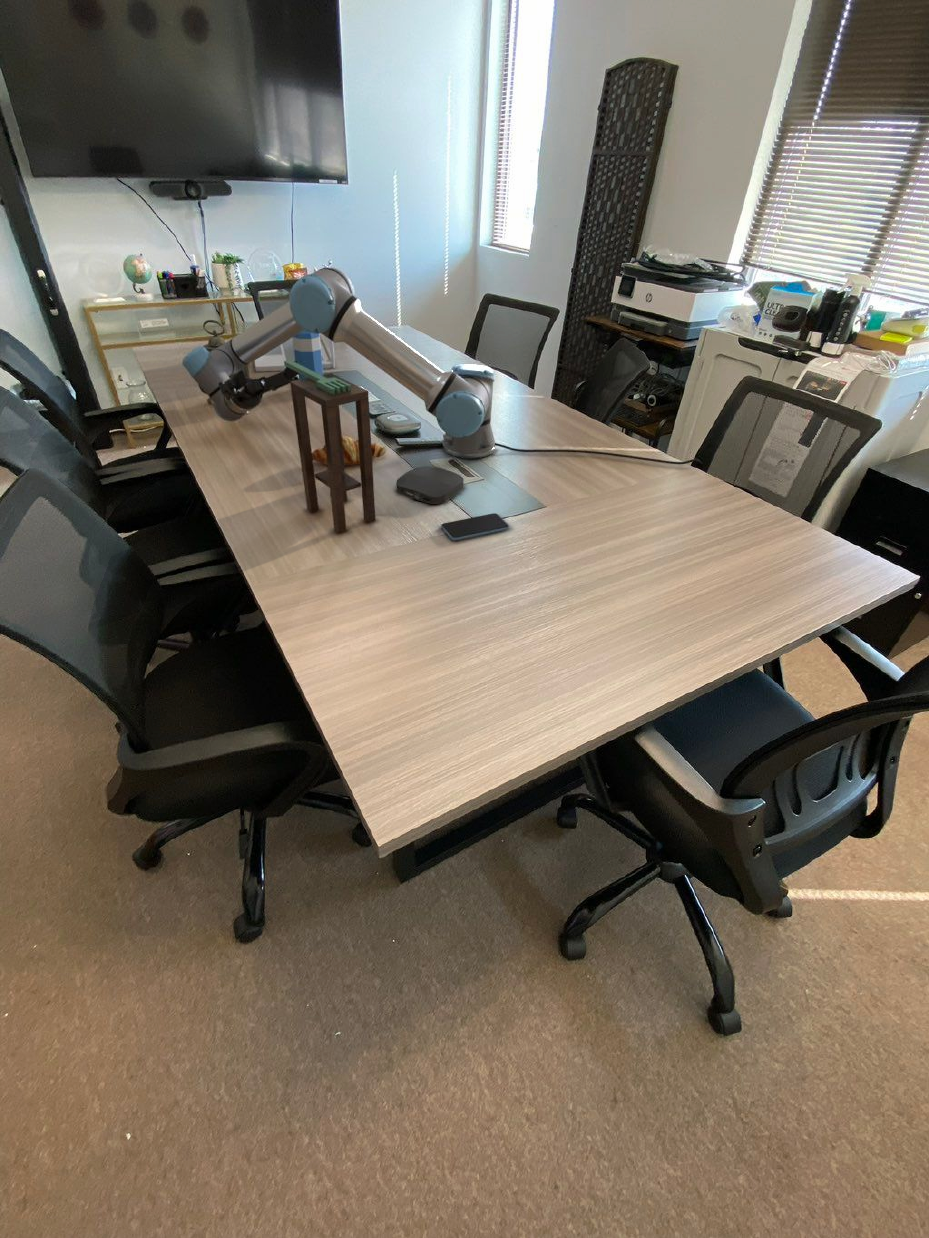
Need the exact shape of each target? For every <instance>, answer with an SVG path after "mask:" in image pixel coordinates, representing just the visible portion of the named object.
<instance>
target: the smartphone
mask: <svg viewBox="0 0 929 1238" xmlns="http://www.w3.org/2000/svg"><path fill="white" fill-rule="evenodd" d="M440 527H441V529H442V530H443V532H444V533H445V534H446V535H447V536H448V537H449V538H450V540H452V541H459V540H465V539H470V538H474V537H479V536H484V535H487V534H493V533H497V532H501V531H508V530H509V529H510V525H509V523H507V522H506V521H505V520H504V518H502V517H501V516H500V515H499V514H498V513H495V512H493V513H489V514H484V515H478V516H474V517H469V518H463V519H459V520H453V521H449V522H444V523H442V524H441V525H440Z"/></svg>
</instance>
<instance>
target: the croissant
mask: <svg viewBox="0 0 929 1238" xmlns="http://www.w3.org/2000/svg"><path fill="white" fill-rule="evenodd" d="M342 445H343V456H344V467H346V466H355V465H360V458H359V444H358V439H355V440H354V439H353V438H352V437H350V436H347V435H346V436H344V435H342ZM371 449H372V460H374V459H375V458H380V457H382V456H384V455H385V454H386V453H387V448H386V447H384V446H382V445H380V444H378V443H377V442H374V443H371ZM312 459H313V462H314V461H315V462H318V463H322V464H324V465H326V466H327V456H326V447H325V444H324V445H323V447H322V448H319V447H318V448H316V449H314V450H313V451H312Z"/></svg>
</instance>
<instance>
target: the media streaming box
mask: <svg viewBox="0 0 929 1238" xmlns="http://www.w3.org/2000/svg"><path fill="white" fill-rule="evenodd" d="M464 483H465V479H464V478H463V476H461V475H460V474H458V473H456V472H454V471H452V470H449V469H446V468H442V467H438V466H426V465H425V466H416V467H414V468H412V469H410V470H408V471H406V472H404V473H403V474H401V476H400V477H398V478H397V480H396V492H397V493H398V494H400V495H402V496H406V497H408V498H411V499H414V500H418V501H420V502H423V503H425V504H431V505H439V504H443V503H446V502H447V501H449V500H450V499H452V498H454V497H455V496H456V495H457V494H459V493H460V492H461V491H463V489H464V487H465V486H464V485H465V484H464Z"/></svg>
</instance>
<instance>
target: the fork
mask: <svg viewBox="0 0 929 1238" xmlns="http://www.w3.org/2000/svg"><path fill="white" fill-rule="evenodd" d="M284 365H285V366H286V367H288V368H290V369H292V370H294V371H296V372H298V373H300V374H302V375H304V376H306V377H307V378H309V379H311V380H313V381H315V382H316V383H317V387H318V388H320V389H322V390H324V391H326V392H328V393H330V394H332V395H334V394H335V393H337V394H339V393H340V391H341V392H346V391H351V385H350V384H348V383H346V382H344V381H342V380H340V379H337V378H335V377H333V378H328V379H327V378H325V377H323V376H321V375H319V374H317V373H315V372H313V371H311V370H309V369H308V368H306V367H304V366H302V365H300V364H298V363H296V362H294V361H292V360H287V361H284Z"/></svg>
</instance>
